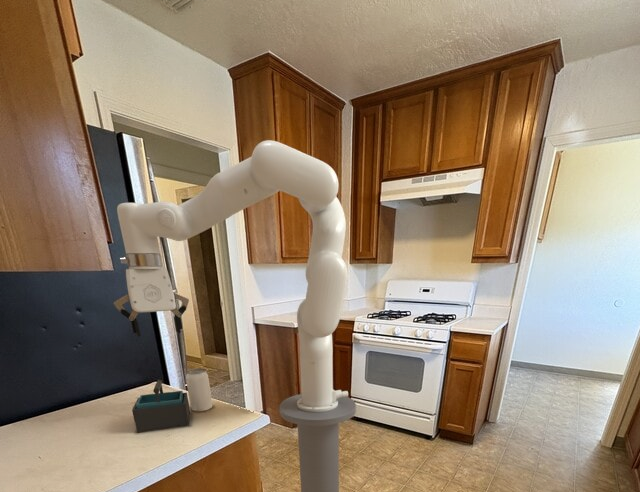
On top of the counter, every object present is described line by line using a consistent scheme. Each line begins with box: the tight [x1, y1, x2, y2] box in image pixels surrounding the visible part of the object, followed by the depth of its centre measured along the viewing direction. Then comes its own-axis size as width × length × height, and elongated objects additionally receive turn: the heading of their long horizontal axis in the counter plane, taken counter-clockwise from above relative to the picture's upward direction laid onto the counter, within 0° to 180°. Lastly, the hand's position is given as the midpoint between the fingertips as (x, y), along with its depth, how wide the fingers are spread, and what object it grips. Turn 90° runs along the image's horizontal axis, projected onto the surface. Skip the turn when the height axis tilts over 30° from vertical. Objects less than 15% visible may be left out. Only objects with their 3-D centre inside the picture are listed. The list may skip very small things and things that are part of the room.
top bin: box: [136, 379, 184, 409], centre depth 98 cm, size 11×8×11 cm
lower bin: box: [131, 392, 191, 434], centre depth 100 cm, size 13×10×7 cm
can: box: [185, 368, 213, 413], centre depth 108 cm, size 6×6×12 cm
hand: (159, 334), depth 92 cm, fingers open, 9 cm apart
